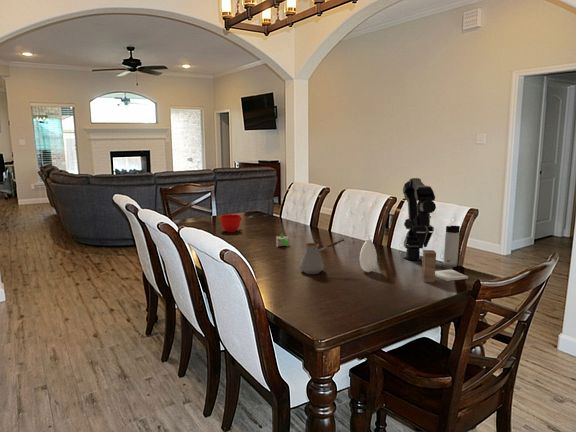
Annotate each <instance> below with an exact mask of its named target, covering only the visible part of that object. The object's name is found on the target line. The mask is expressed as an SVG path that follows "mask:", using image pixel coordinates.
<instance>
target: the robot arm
mask: <svg viewBox="0 0 576 432" xmlns="http://www.w3.org/2000/svg"><path fill="white" fill-rule="evenodd" d="M402 193H403V195H404V199H405V200H406V201H407V212H408V218H406V219H405V220H404V221H405V222H404V223H403V225H404V227H405V230H407V232H406V235H405V237H404V241H403V247H404V248H405V249H406V251H405V254H406V255H405V256H403V259H405V260H408V261H410V262H416V261H422V258H420V257H421V256H420V254H421V253H420V251H421V250H420V249H423V248H427V247H428V244H429V242H430V240H431V237H432V235H433V234H434V230H435V227H434V225H432V224H431V218H432V216H431V214H432V213H434V212H435V211H436V209H437V205H436V202H434V201H436V196H435V195H436V194H435V192H434V189H432V186H430V185H425V184H424V183H423V182H422V179H421V178H419V177H418V178H417V177H415V178H414V177H412V178H409V180H408V181H407V182H405V183H404V185H403V187H402Z"/></svg>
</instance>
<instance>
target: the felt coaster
mask: <svg viewBox="0 0 576 432" xmlns="http://www.w3.org/2000/svg"><path fill="white" fill-rule="evenodd" d="M435 277H438V278H440V280H444V281H445V282H449V281H450V282H451V280H452V281H461V280H468V279H469V276H468V275H465V274H463V273H460V272H458V271H457V270H454V269H445V270H444V269H443V270H435Z"/></svg>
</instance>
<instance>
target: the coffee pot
mask: <svg viewBox="0 0 576 432" xmlns="http://www.w3.org/2000/svg"><path fill="white" fill-rule="evenodd" d="M341 242H343V243H344V244H346V240H345V239H341V240H337V241H334V242H332V243H330V244H328V245H327V246H324V247H321V248H319V246H320V245H319V243H315V242H309V243H305V245H304V246H305V248H306V250H305V252H304V254H303V256H302V258H301V261H300V262H299V265H298V266H299V269H300V270H301V271H302V272H303V273H305V274H308V275H316V274H319V273H320V272H323V271H322V270H324V269H325V264H324V261H323V260H322V257H321V255H320V252H322V251H324V250H326V249H329V248H331V247H334V246H336V245H338V244H341Z"/></svg>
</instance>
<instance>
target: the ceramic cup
mask: <svg viewBox="0 0 576 432" xmlns="http://www.w3.org/2000/svg"><path fill="white" fill-rule="evenodd" d="M241 221H242V216H241V215H240V214H223V215H220V224H221V227H222V228H223V230H224V231H225V232H226V233H236V232H237V231H238V229H239V228H240V226H241Z"/></svg>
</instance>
